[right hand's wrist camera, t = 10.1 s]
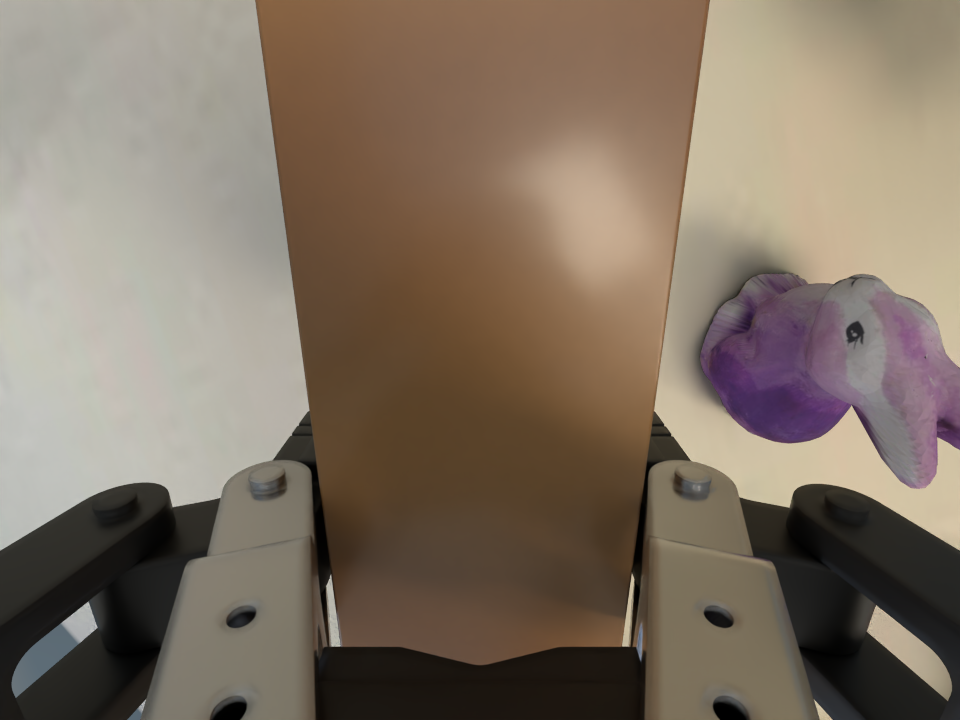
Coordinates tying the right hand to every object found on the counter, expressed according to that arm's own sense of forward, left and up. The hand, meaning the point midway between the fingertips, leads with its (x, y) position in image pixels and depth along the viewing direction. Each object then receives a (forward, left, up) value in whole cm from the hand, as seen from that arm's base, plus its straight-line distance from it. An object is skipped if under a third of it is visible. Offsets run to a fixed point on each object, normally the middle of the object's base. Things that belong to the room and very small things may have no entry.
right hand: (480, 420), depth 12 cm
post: (+6, -20, -4) cm, 21 cm away
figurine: (-19, -1, -22) cm, 29 cm away
